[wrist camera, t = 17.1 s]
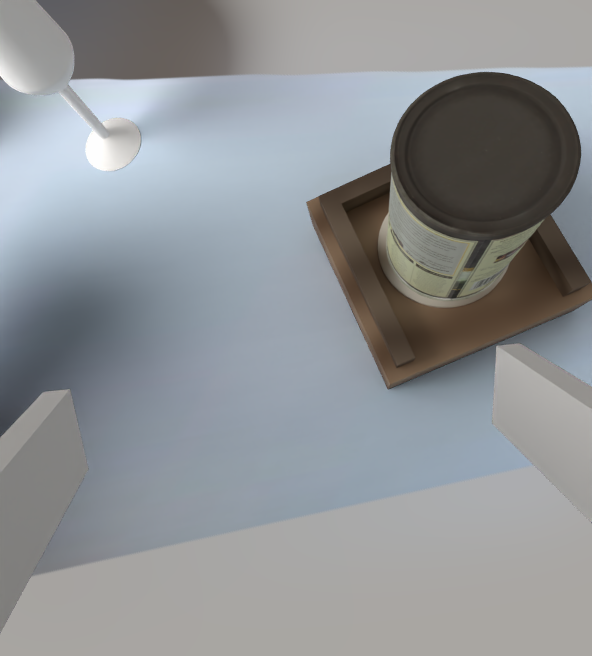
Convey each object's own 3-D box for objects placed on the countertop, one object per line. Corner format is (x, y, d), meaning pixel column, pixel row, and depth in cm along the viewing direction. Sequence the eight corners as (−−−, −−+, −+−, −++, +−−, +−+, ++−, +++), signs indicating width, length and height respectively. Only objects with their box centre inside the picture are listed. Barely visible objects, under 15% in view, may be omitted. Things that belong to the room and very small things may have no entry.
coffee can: (421, 169, 43) (445, 45, 29) (532, 220, 40) (615, 111, 27) (361, 266, 42) (357, 185, 28) (472, 325, 39) (526, 268, 26)
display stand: (573, 310, 43) (610, 288, 37) (388, 389, 44) (391, 381, 38) (479, 150, 48) (497, 103, 41) (312, 224, 49) (303, 191, 42)
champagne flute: (75, 162, 55) (-141, -36, 32) (100, 111, 56) (-91, -117, 33) (125, 178, 53) (-62, -17, 30) (150, 125, 54) (-13, -103, 31)
